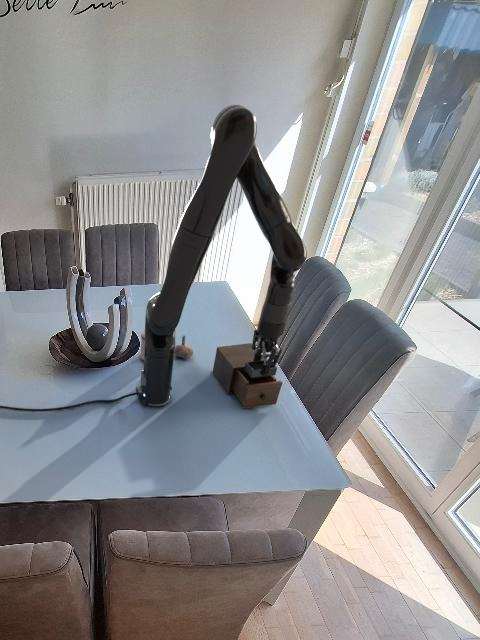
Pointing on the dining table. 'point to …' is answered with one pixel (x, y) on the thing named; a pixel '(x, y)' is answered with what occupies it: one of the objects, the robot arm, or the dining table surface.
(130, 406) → the dining table surface
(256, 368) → the tray
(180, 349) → the garlic bulb
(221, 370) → the cabinet
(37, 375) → the dining table surface
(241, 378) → the drawer
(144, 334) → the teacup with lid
